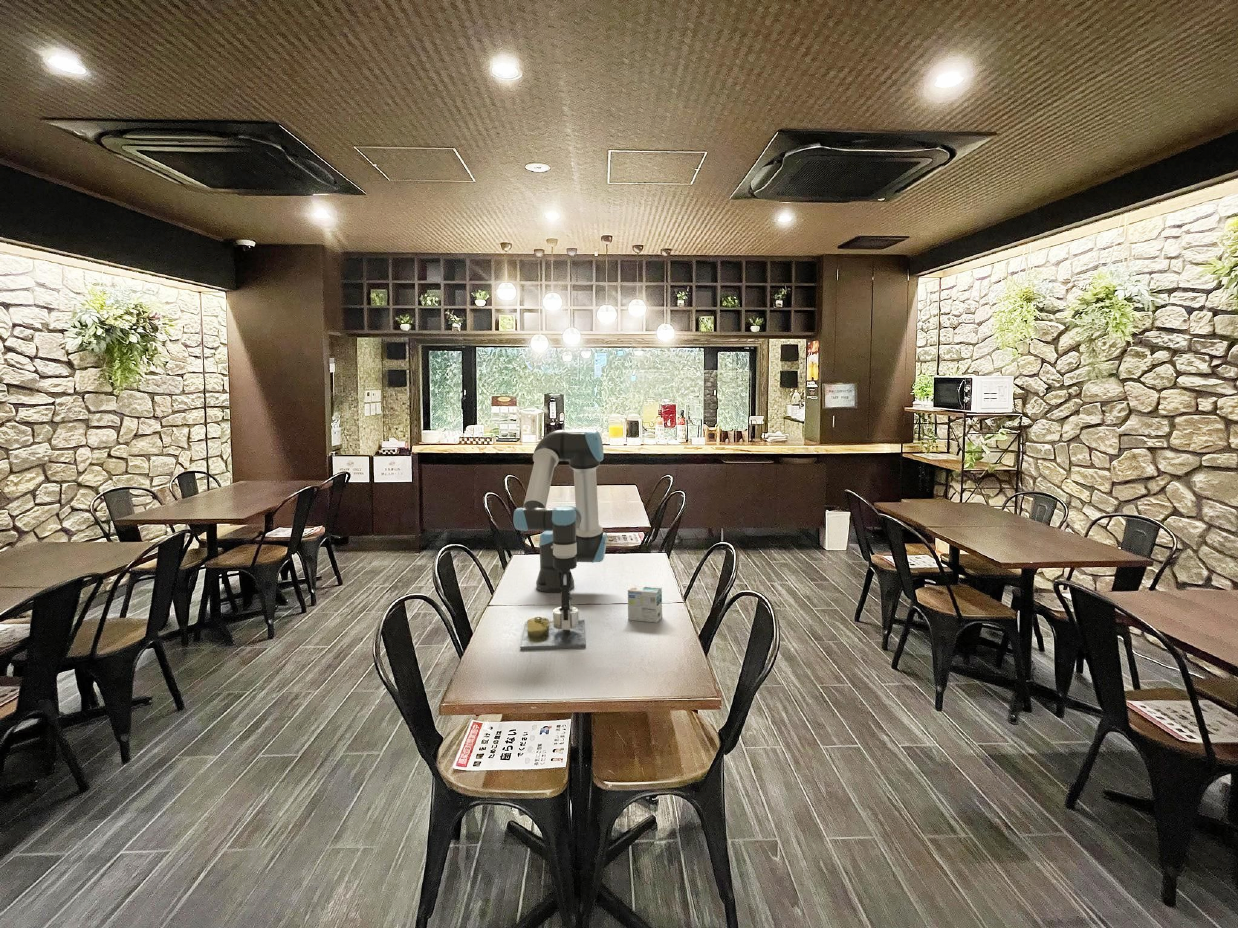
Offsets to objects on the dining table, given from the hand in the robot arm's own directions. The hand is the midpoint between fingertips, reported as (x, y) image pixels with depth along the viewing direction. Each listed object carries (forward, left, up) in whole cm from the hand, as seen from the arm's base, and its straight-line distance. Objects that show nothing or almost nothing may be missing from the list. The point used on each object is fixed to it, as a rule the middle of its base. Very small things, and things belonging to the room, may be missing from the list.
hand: (566, 624), depth 226 cm
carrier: (0, -4, -4) cm, 6 cm away
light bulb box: (-14, +27, -4) cm, 31 cm away
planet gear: (0, 0, 0) cm, 0 cm away
